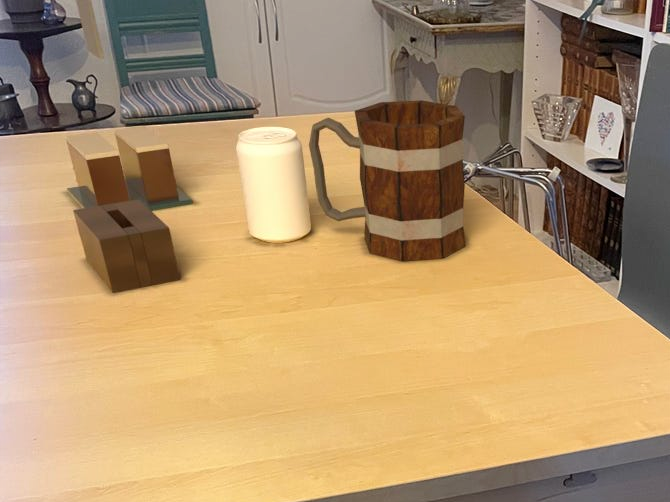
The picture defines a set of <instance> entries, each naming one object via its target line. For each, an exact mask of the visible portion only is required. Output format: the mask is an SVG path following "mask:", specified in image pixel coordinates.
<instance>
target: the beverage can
mask: <svg viewBox="0 0 670 502" xmlns="http://www.w3.org/2000/svg"><path fill="white" fill-rule="evenodd" d="M237 138H238V141H237V143H236V146H235V150H236V151H235V152H236V157H237V163H238V170H239V174H240V175H239V177H240V182H241V183H240V184H241V190H242V195H243V203H244V208H245V215H246V223H247V229H248V232H249V235H251V236H252V237H254V239H255V238H256V239H258V240H260V241H263V242H266V243H273V244H274V243H276V244H279V243H280V244H281V243H283V244H284V243H290V242H294V241H297V240H300V239H301V238H303V237H304V236H307V234H309V233H310V232H311V230H312V223H311V215H310V206H309V196H308V189H307V180H306V179H307V178H306V169H305V161H304V151H303V143H302V142H301V140H300V139H299V138H298V134H297V131H295V130H294V129H291V128H288V127H282V126H261V127H253V128H249V129H245V130H243V131H241V132H239V133H238V135H237Z"/></svg>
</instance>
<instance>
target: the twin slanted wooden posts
mask: <svg viewBox="0 0 670 502" xmlns="http://www.w3.org/2000/svg"><path fill="white" fill-rule="evenodd" d="M113 131H114V135H115V140H116V144H117V148H118V149H117V148H116V147H115V146H113V145H112V144H111V143H110V142H109V140H107V139H105V138H104V137H103V136H102V135H101V134H100V133H99V132H97V131H93V132H87V133H86V132H85V133H79V134H71V135H65V141H66V145H67V150H68V153H69V156H70V160H71V163H72V169H73V170H74V176H75V179H76V183H77V186H73V187H67V188H66V191H67V193H68V194H69V196H70V197H71V198H72V199H73V200H74V202H76V203H77V204H78V206H79V207H80V209H82V208H89V207H95V206H101V205H107V204H113V203H119V202H126V201H132V200H138V199H139V200H140V201H141V202H142V203H143V204H144V205H146V206H147V207H148V208H149V209H150V210H151V211H156V210H162V209H163V210H164V209H168V208H175V207H180V206H181V207H182V206H186V205H192V204H193V198H192V197H190V195H187V194H186V193H185V192H184V191H182V189H181V188H180V187H178V186H177V181H176V177H175V172H174V166H173V162H172V156H171V151H170V146H169V142H167V141H165V140H164V139H163V138H161V137H160V136H159V135H158V134H156V133H154V131H152V130H150V128H148V127H147V126H146V125H140V126H133V127H125V128H117V129H113Z"/></svg>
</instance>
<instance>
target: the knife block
mask: <svg viewBox="0 0 670 502" xmlns="http://www.w3.org/2000/svg"><path fill="white" fill-rule="evenodd" d="M73 215H74V219H75V222H76V226H77V230H78V233H79V237H80V241H81V245H82V248H83V252H84V256H85V260H86V261H87V262H88V264H89V265H90V267H91V268H92V269H93V270H94V272H96V274H97V275H98V276H99V278H100V279H101V280H102V281H103V283H104V284H105V285H106V286H107V288H108V289H109V290H110V291H111V292H112V293H113V294H114V293H119V292H124V291H125V292H126V291H129V290H135V289H139V288H144V287H149V286H150V287H151V286H156V285H159V284H164V283H170V282H174V281H175V282H176V281H179V280H181V278H180V272H179V268H178V263H177V258H176V254H175V250H174V244H173V238H172V234H171V230H170V229H171V228H170V227H169V226H168V225H167V224H166V223H165V222H164V221H163V220H162V219H161V218H159V216H157V215H156V214H155V212H154V211H153V210H150V209H149V208H148V207H147V206H146V205H144V204H143V203H142V202H141V201H140V200H139V199H138V200H132V201H126V202H119V203H113V204H107V205H101V206H95V207H89V208H77V209H73Z"/></svg>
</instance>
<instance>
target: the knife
mask: <svg viewBox="0 0 670 502" xmlns="http://www.w3.org/2000/svg"><path fill="white" fill-rule="evenodd" d="M75 2H76V3H75V4H76V6H77V10H78V15H79V19H80V23H81V27H82V32H83V36H84V40H85V44H86V49H87V51H88V53H91V54H92V55H94V56H95V57H96V58H98V59H99V60H104V59H105V55H104V51H103V47H102V42H101V38H100V33H99V28H98V25H97V24H98V23H97V19H96V15H95V11H94V7H93V6H94V5H93V2H92V0H75Z"/></svg>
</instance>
